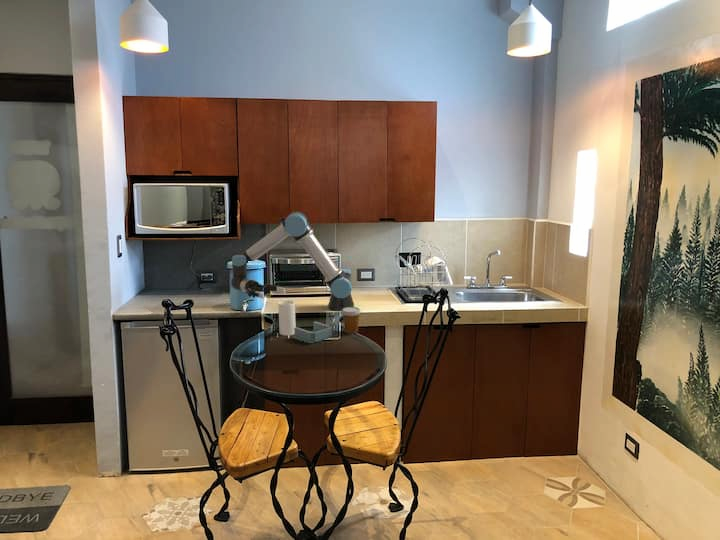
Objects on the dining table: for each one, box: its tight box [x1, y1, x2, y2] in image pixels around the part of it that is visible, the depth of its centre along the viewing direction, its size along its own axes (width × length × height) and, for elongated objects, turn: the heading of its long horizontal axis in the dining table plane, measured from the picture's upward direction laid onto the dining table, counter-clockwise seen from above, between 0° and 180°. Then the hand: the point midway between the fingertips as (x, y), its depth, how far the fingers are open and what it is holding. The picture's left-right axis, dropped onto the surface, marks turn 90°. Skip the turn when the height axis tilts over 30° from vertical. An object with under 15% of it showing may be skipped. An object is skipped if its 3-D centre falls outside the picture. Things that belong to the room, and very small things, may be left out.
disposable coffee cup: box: [341, 306, 361, 335], centre depth 286 cm, size 10×10×12 cm
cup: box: [277, 300, 297, 336], centre depth 286 cm, size 8×8×16 cm
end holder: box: [292, 321, 337, 344], centre depth 280 cm, size 16×14×5 cm
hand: (274, 293), depth 290 cm, fingers open, 13 cm apart
